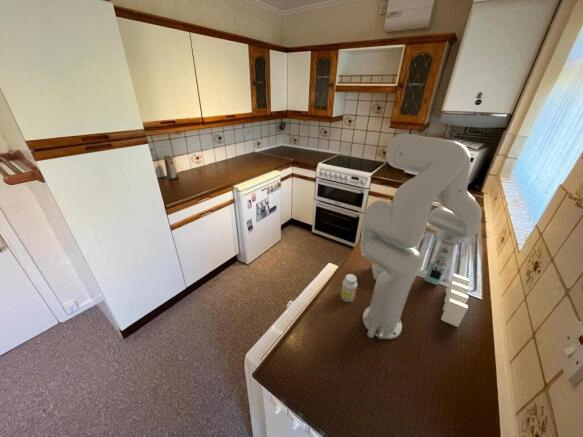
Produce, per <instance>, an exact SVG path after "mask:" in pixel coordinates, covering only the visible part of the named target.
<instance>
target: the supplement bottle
mask: <svg viewBox="0 0 583 437" xmlns="http://www.w3.org/2000/svg"><path fill="white" fill-rule="evenodd" d="M357 280H358V279H357V276H356V275H355V274H352V273H348V274H346V275H345V277H344V279H343V281H342V285H341V290H340V298H341V299H342V300H343V302H347V303H350V302H353V301H354V300H355V298H356V294H357V289H358V282H357Z"/></svg>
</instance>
